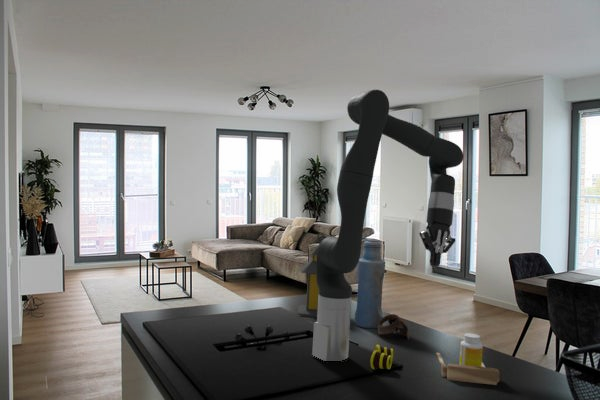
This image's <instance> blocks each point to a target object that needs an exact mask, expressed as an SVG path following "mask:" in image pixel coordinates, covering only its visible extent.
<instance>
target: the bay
mask: <svg viewBox="0 0 600 400" xmlns="http://www.w3.org/2000/svg"><path fill="white" fill-rule="evenodd" d="M435 353H436V356H437V358H438V361H439V363H440V366H441V370H440V371H441V372H440V374H441V377H442V378H446V380H448V381H455V382H464V383H472V384H473V383H474V384H486V385H494V386H497V385H498V383H499V382H500V375H501V374H500V371H499V370H498V369H497V368H495V367H486V366H485V364H484V362H482V366H481V367H477V366H467V365H459V364H456V363H455V364H454V363H447V364H446V363H445V362H444V359H443V357H442V355H441V353H440V352H435Z"/></svg>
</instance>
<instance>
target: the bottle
mask: <svg viewBox="0 0 600 400" xmlns="http://www.w3.org/2000/svg"><path fill="white" fill-rule="evenodd" d="M381 247H382V244H381V242H380V240H379V239H371V238H368V239H366V241H364V242H363V251H362V257H360V259H359V262H358V264H357V266H356V272H357V282H358V283H357V298H356V309H355V313H354V325H355V326H356V327H360V328H364V329H378V328H379V326H378V325H379V321H380V320H381V319H382V318H383V317H384V315H383V310H382V303H383V302H382V299H383V297H382V296H383V286H384V284H383V283H384V276H385V274H386V261H385V260H384V259H382V253H381ZM381 326H383V324H382V325H381Z"/></svg>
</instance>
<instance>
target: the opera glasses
mask: <svg viewBox="0 0 600 400" xmlns="http://www.w3.org/2000/svg"><path fill="white" fill-rule="evenodd" d="M393 361H394V349H393V348H387V346H383V347H382V346H380V344H376V345H375V349H374V351H373V352H372V354H371V356H370V361H369V362H370V367H371V369H372V370H376V369H381V370H384V369H387V370H390V369H391V367H392V364H393ZM375 368H376V369H375Z"/></svg>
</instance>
